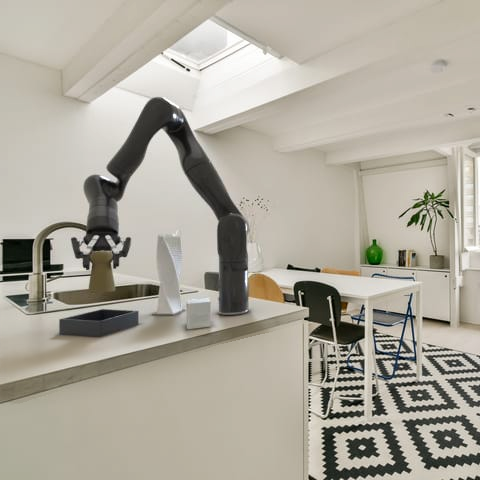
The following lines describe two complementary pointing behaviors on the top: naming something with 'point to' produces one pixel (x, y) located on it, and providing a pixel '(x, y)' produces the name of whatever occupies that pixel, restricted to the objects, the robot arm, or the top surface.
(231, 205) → the robot arm
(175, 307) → the skyscraper
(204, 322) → the product box
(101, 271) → the cork
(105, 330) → the basket
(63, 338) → the top surface
